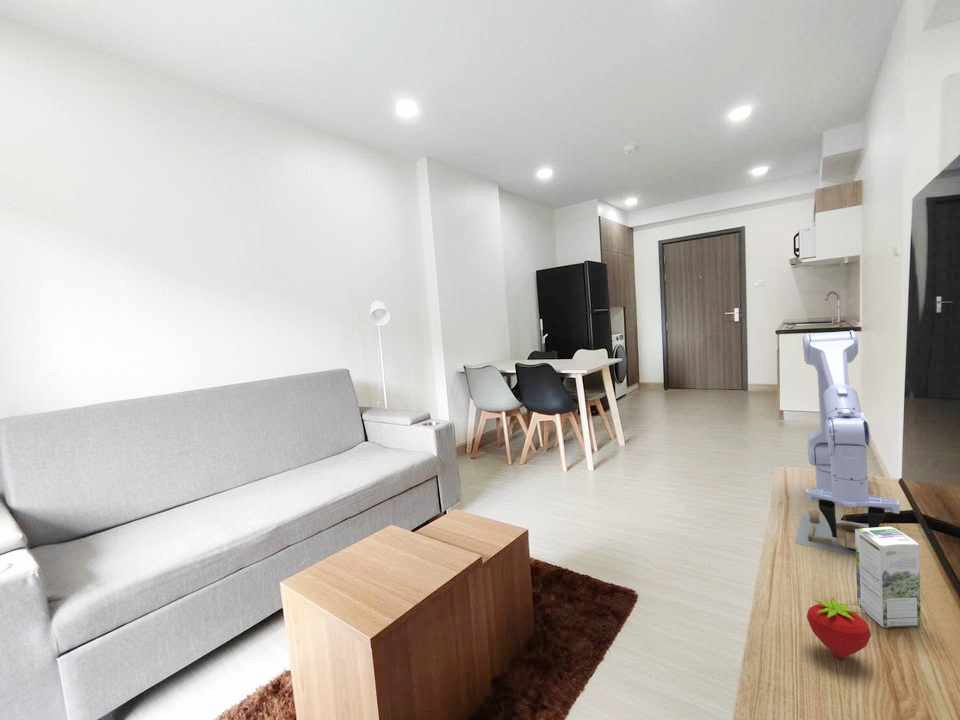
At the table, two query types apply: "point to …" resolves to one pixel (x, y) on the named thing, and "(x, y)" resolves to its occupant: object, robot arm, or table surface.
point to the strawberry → (838, 627)
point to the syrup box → (888, 576)
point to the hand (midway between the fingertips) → (852, 538)
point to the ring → (846, 534)
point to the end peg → (851, 548)
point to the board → (820, 533)
